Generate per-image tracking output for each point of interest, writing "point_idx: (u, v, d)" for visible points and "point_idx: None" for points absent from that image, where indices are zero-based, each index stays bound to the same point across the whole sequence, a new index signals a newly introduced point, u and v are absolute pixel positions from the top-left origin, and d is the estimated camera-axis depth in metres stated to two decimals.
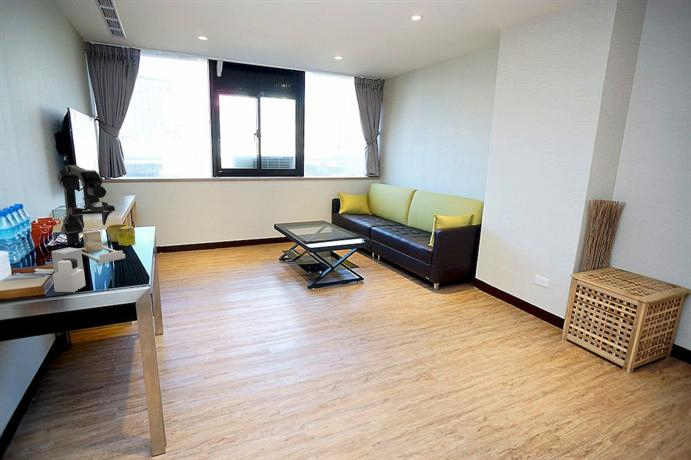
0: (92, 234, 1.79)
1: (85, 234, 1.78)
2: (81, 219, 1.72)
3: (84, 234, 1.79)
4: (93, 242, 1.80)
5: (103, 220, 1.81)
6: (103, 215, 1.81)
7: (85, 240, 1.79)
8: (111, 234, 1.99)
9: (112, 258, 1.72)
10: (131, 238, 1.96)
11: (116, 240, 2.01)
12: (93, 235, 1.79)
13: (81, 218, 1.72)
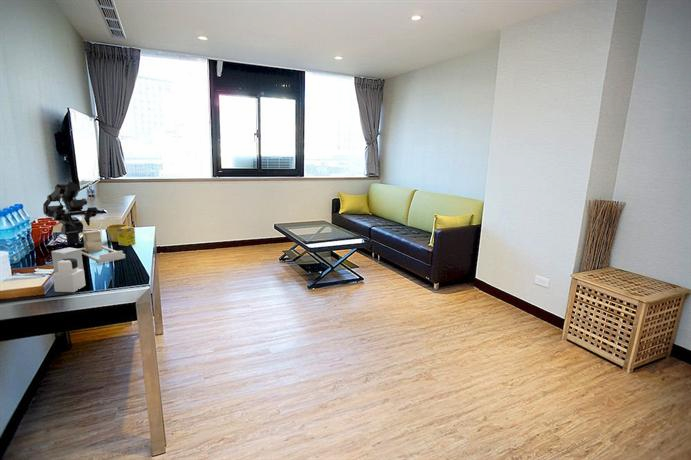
0: (92, 234, 1.79)
1: (85, 234, 1.78)
2: (70, 218, 1.83)
3: (84, 234, 1.79)
4: (93, 242, 1.80)
5: (87, 221, 1.89)
6: (86, 218, 1.90)
7: (85, 240, 1.79)
8: (111, 234, 1.99)
9: (112, 258, 1.72)
10: (131, 238, 1.96)
11: (116, 240, 2.01)
12: (93, 235, 1.79)
13: (70, 217, 1.83)
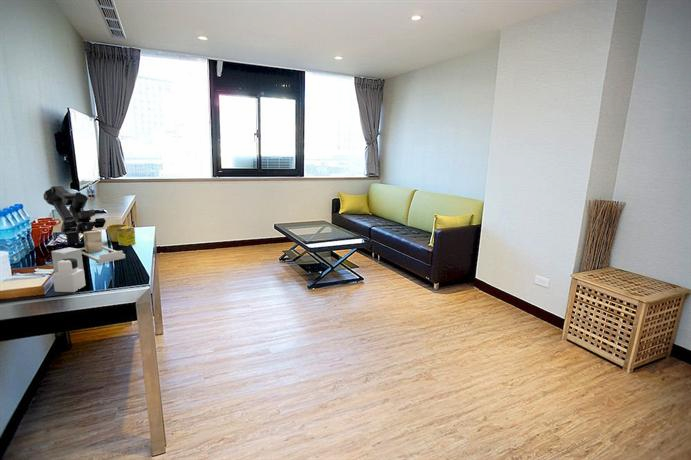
0: (92, 234, 1.79)
1: (85, 234, 1.78)
2: (85, 229, 1.82)
3: (84, 234, 1.79)
4: (94, 242, 1.80)
5: None
6: (87, 230, 1.84)
7: (85, 240, 1.79)
8: (111, 234, 1.99)
9: (112, 258, 1.72)
10: (131, 238, 1.96)
11: (116, 240, 2.01)
12: (93, 235, 1.79)
13: (84, 228, 1.82)
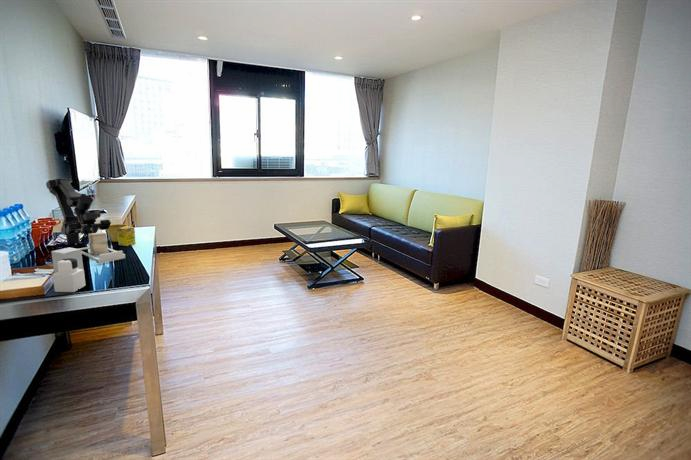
0: (98, 236, 1.76)
1: (91, 236, 1.75)
2: (90, 231, 1.79)
3: (90, 236, 1.76)
4: (99, 244, 1.77)
5: None
6: (92, 232, 1.81)
7: (91, 242, 1.76)
8: (111, 234, 1.99)
9: (112, 258, 1.72)
10: (131, 238, 1.96)
11: (116, 240, 2.01)
12: (98, 237, 1.76)
13: (89, 230, 1.79)
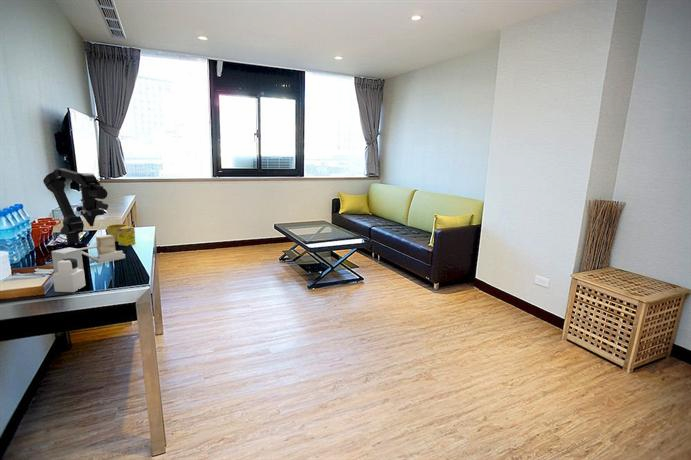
0: (106, 239, 1.71)
1: (98, 239, 1.70)
2: None
3: (97, 239, 1.71)
4: (107, 247, 1.72)
5: None
6: None
7: (98, 245, 1.72)
8: (111, 234, 1.99)
9: (112, 258, 1.72)
10: (131, 238, 1.96)
11: (116, 240, 2.01)
12: (106, 240, 1.72)
13: None
